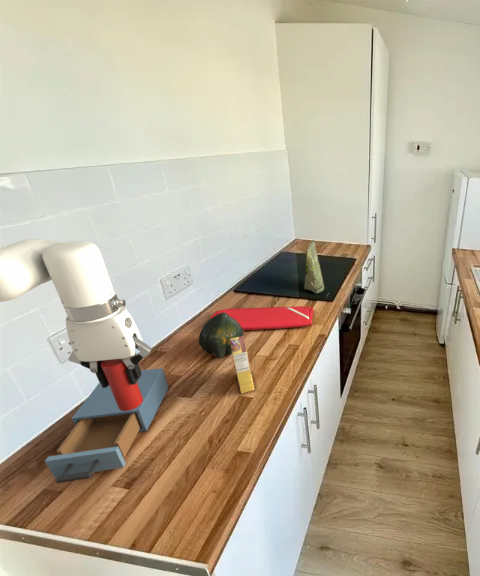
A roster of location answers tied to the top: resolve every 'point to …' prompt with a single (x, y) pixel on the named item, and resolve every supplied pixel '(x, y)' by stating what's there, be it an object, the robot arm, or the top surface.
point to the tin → (121, 385)
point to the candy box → (241, 364)
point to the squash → (219, 334)
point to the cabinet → (105, 405)
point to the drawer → (94, 447)
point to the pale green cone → (313, 270)
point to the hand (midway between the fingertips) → (122, 380)
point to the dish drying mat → (270, 317)
